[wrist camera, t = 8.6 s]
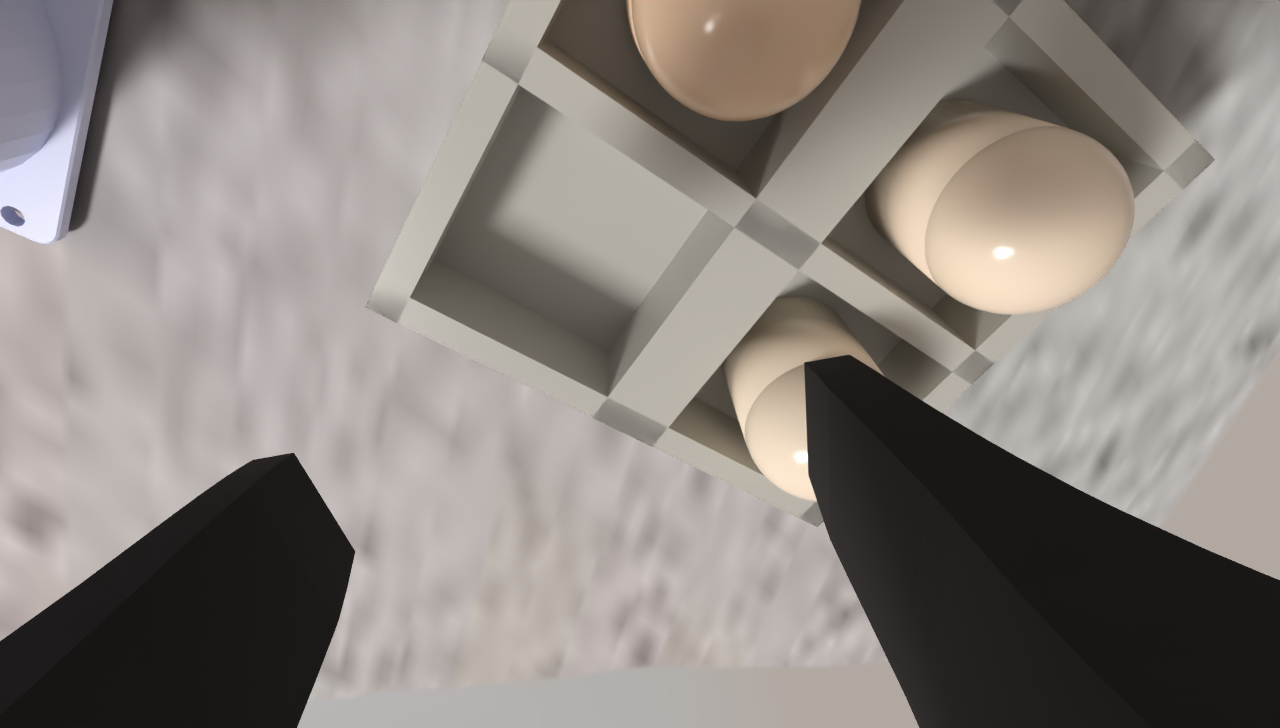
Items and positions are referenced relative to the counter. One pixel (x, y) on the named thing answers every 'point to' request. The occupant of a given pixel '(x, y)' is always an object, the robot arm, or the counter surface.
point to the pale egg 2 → (1003, 207)
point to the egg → (740, 50)
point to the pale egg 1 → (784, 384)
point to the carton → (729, 210)
